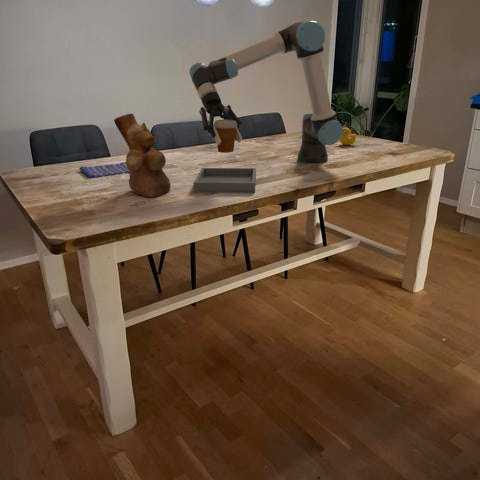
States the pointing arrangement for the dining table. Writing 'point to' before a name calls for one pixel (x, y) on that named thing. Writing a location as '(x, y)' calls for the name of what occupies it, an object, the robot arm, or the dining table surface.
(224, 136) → the disposable coffee cup
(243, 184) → the grey tray
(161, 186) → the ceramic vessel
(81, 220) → the dining table surface
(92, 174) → the dish towel
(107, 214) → the dining table surface
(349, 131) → the duckling
